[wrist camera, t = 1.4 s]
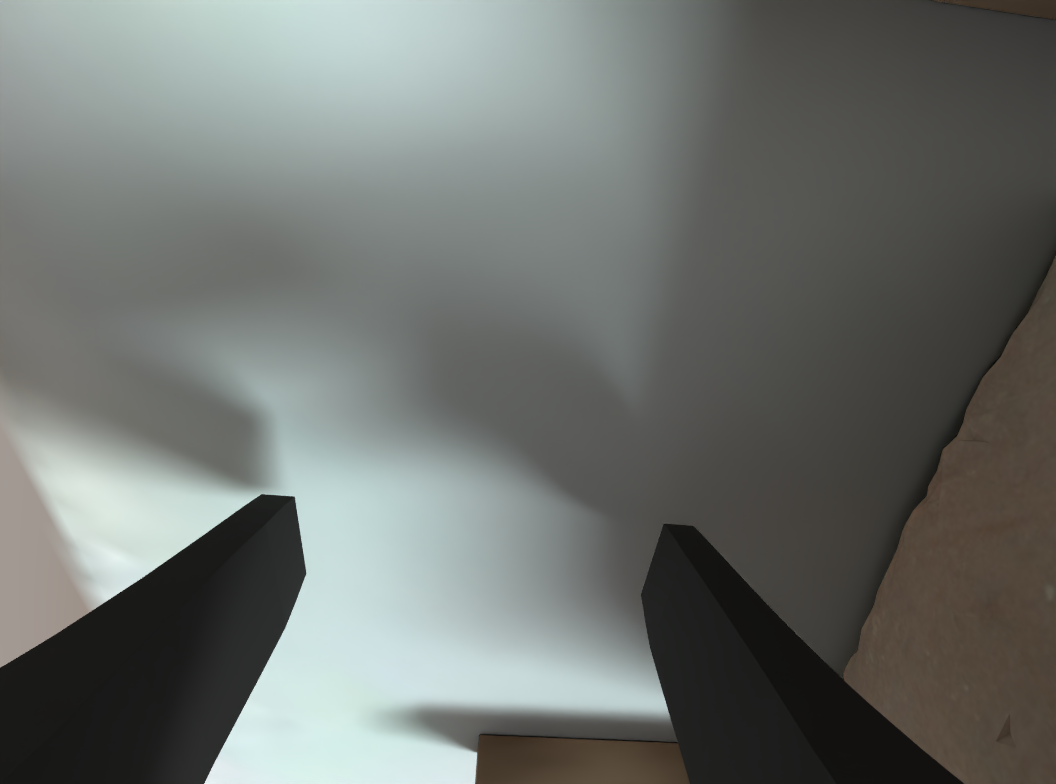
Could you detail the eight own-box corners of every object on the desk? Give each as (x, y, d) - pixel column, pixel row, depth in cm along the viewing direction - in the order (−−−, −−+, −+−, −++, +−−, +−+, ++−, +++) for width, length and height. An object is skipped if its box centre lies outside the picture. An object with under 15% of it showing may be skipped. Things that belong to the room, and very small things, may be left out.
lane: (1898, 41, 7) (2781, -33, 4) (1030, 776, 17) (1128, 895, 14) (583, -187, 6) (642, -511, 3) (477, 754, 15) (468, 881, 13)
